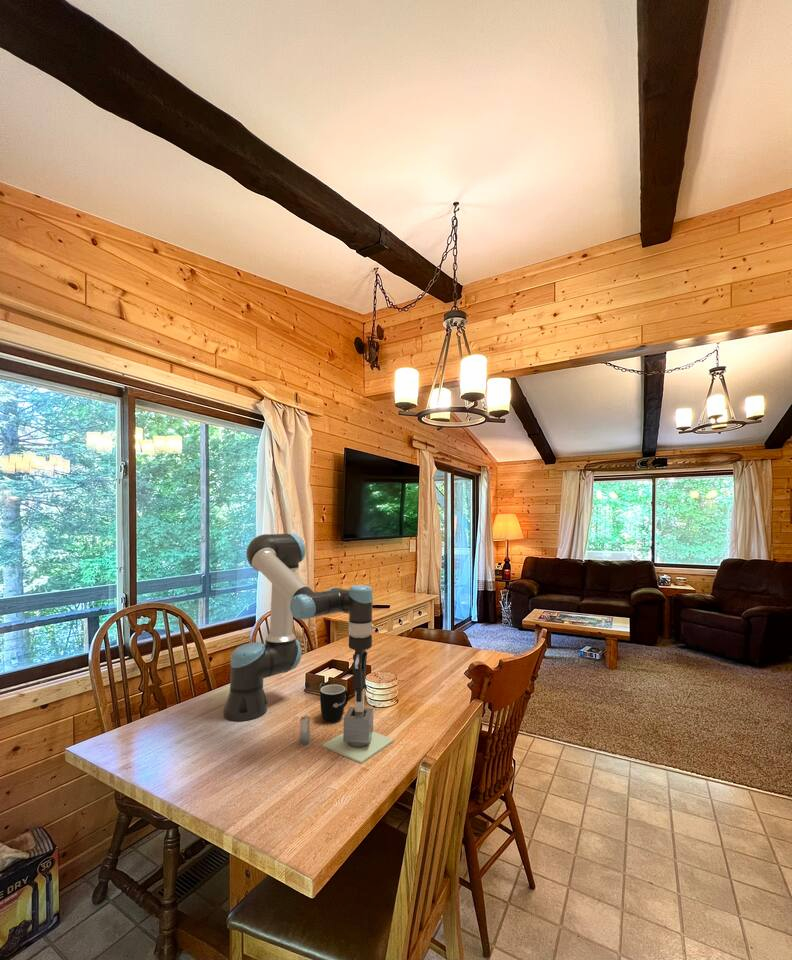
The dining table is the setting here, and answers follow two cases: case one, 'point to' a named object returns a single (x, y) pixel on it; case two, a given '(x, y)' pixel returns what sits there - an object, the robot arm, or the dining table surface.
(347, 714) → the collar
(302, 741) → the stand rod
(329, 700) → the mug
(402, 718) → the dining table surface
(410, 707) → the dining table surface
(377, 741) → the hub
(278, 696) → the dining table surface
